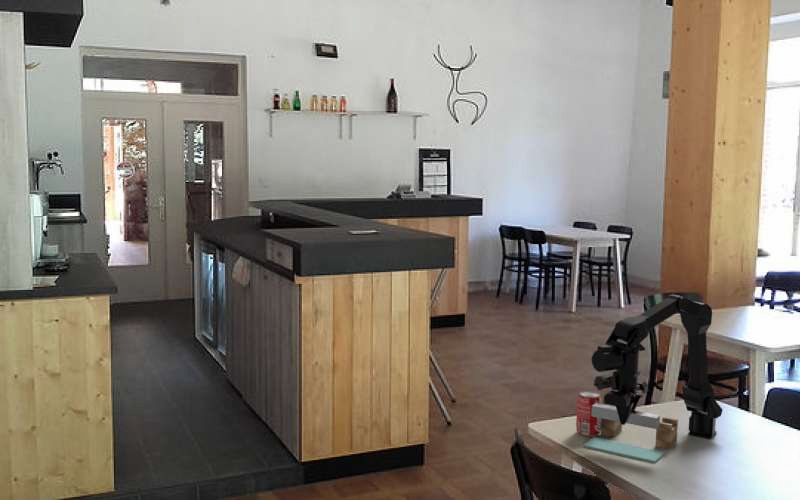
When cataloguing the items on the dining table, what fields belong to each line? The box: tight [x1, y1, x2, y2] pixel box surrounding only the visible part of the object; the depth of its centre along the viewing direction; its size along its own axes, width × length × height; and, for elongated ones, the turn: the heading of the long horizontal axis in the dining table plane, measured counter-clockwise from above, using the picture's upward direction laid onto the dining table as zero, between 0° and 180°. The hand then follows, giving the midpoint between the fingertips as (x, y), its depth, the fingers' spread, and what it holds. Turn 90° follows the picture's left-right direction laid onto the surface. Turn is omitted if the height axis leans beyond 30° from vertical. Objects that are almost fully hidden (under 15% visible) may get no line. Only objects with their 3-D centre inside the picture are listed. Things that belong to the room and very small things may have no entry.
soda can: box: [575, 390, 603, 438], centre depth 234 cm, size 7×7×12 cm
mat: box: [583, 436, 666, 464], centre depth 221 cm, size 20×8×1 cm, turn 55°
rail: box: [591, 403, 661, 430], centre depth 220 cm, size 18×3×3 cm, turn 55°
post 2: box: [654, 416, 679, 450], centre depth 226 cm, size 4×6×7 cm, turn 145°
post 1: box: [600, 418, 623, 438], centre depth 235 cm, size 4×6×7 cm, turn 145°
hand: (625, 422), depth 221 cm, fingers closed on rail, 3 cm apart
